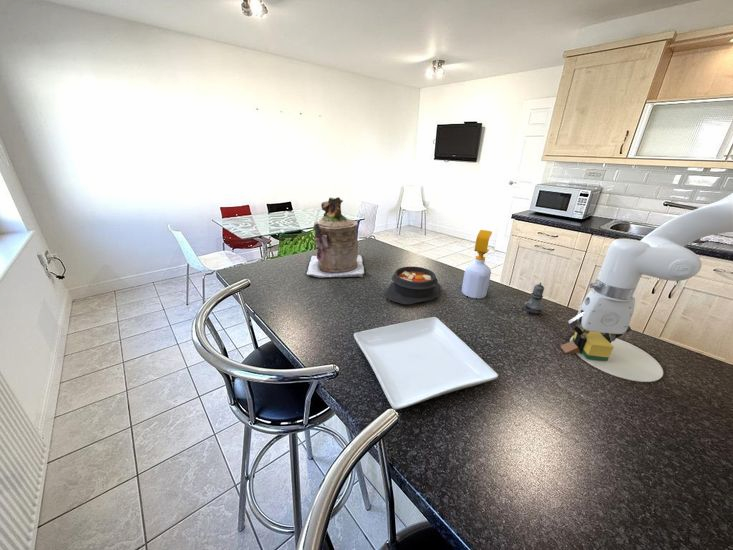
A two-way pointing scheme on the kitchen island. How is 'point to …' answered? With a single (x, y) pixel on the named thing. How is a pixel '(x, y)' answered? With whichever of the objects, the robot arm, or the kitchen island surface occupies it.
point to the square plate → (421, 361)
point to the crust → (570, 347)
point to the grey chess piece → (535, 301)
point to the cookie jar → (335, 244)
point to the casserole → (413, 285)
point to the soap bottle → (478, 269)
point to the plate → (628, 363)
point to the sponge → (596, 346)
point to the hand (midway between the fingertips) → (589, 348)
